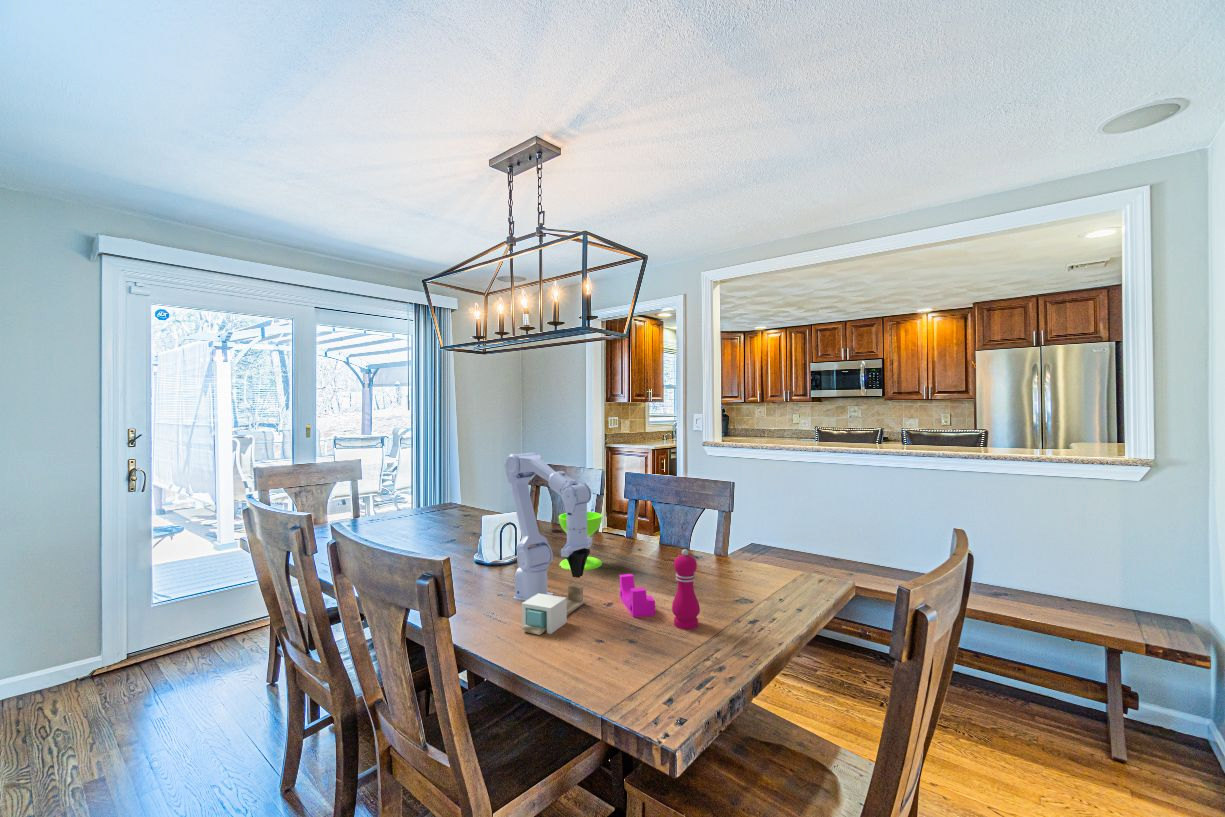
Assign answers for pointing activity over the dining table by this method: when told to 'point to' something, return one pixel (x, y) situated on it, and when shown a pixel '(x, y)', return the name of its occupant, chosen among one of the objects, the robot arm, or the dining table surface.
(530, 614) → the teal block
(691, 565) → the pepper mill
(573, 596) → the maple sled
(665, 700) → the dining table surface
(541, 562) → the robot arm
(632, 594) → the toy block
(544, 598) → the cream tunnel
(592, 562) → the wineglass
